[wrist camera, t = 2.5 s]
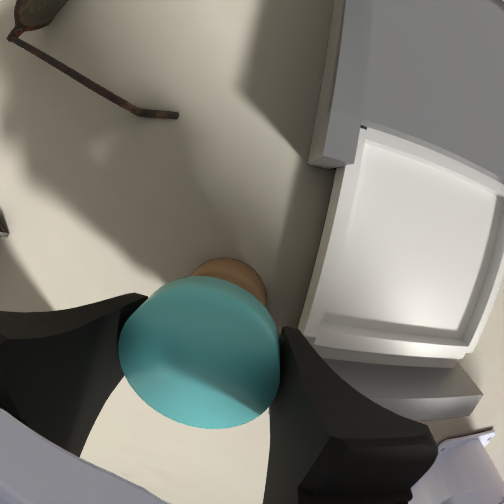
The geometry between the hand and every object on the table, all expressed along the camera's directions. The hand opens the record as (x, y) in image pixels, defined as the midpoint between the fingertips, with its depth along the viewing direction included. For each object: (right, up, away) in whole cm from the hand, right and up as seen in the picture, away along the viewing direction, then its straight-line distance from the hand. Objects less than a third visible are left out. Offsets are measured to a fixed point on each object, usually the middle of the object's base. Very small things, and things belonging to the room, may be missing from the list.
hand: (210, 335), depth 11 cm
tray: (+10, +2, +3) cm, 10 cm away
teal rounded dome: (0, 0, -1) cm, 1 cm away
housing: (+11, +12, 0) cm, 16 cm away
